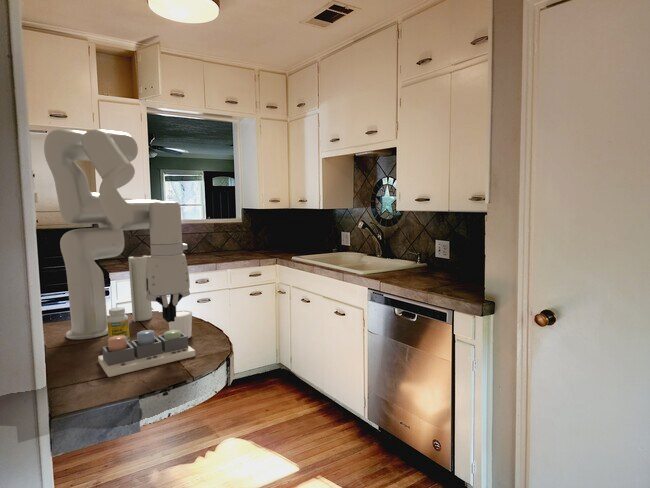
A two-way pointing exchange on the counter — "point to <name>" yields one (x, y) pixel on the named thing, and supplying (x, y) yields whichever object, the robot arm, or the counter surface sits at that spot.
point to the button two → (145, 337)
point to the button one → (117, 343)
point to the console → (145, 355)
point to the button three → (172, 334)
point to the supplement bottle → (118, 323)
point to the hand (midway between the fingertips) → (169, 320)
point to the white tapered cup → (182, 322)
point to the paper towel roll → (139, 289)
